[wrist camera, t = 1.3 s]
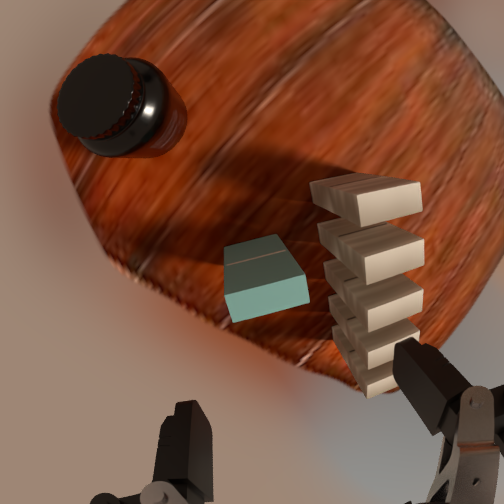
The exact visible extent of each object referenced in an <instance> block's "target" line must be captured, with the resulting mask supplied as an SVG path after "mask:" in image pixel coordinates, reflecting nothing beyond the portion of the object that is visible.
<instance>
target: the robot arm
mask: <svg viewBox="0 0 504 504" xmlns="http://www.w3.org/2000/svg"><path fill="white" fill-rule="evenodd" d="M392 372H393V377H394V379H395V382H396V383H397V385H398V386H399V388H400V389H401V390H402V392H403V393H404V395H405V396H406V398H407V399H408V400H409V402H410V403H411V405H412V406H413V408H414V409H415V411H416V412H417V413H418V415H419V416H420V418H421V419H422V421H423V422H424V424H425V425H426V427H427V428H428V430H429V431H430V433H431V434H432V436H434V435H435V434H437V433H439V432H440V431H441V432H442V433H443V434H444V437H443V441H442V447H441V452H440V458H439V462H438V467H437V472H436V476H435V479H434V482H433V484H432V486H431V488H430V491H429V494H428V497H427V500H426V503H418V504H493V503H494V498H495V492H496V485H497V478H498V469H499V457H500V452H501V454H502V455H503V457H504V385H501V386H498V387H496V388H493V389H487V388H486V387H483V386H472V385H471V384H470V383H469V382H468V381H467V380H466V379H465V378H464V376H462V374H461V373H460V372H459V371H458V370H457V369H456V368H455V367H454V366H453V365H452V364H451V363H449V361H448V360H447V359H446V358H445V357H444V356H443V354H442V353H441V352H440V351H439V350H438V349H437V348H435V347H433V346H431V345H429V344H426V343H425V344H423V345H421V344H420V343H419V342H418V341H417V340H416V339H415V338H414V337H409V338H407V339H405V340H402V341H400V342H398V343H396V344H395V346H394V357H393V368H392ZM159 438H160V439H159V441H158V448H157V454H156V460H155V467H154V474H153V480H152V483H150V484H148V485H147V486H146V487H145V488H144V489H143V490H142V492H141V493H140V494H136V495H132V496H128V497H123V498H117V497H115V496H114V495H112V494H110V493H101V494H98V495H96V496H95V497H94V498H93V499H92V500H91V502H90V504H204V502H213V459H212V458H213V454H212V453H213V452H212V429H211V425H210V423H209V421H208V419H207V417H206V416H205V414H204V412H203V411H202V409H201V407H200V405H199V404H198V402H197V401H196V400H190V401H183V402H178V403H176V406H175V413H174V415H173V416H167V417H166V419H165V420H164V422H163V424H162V425H161V429H160V435H159ZM494 443H495V444H494ZM405 504H412V503H411V501H409V502H407V503H405Z"/></svg>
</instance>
